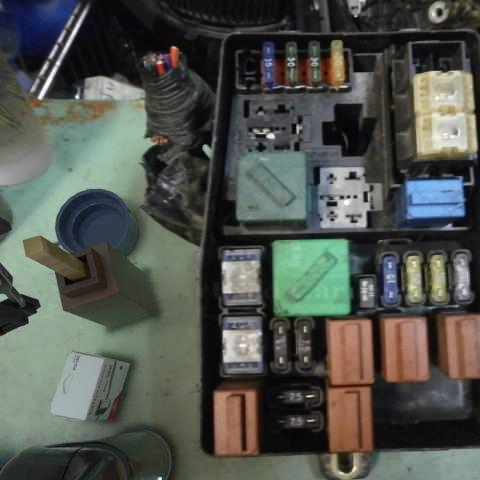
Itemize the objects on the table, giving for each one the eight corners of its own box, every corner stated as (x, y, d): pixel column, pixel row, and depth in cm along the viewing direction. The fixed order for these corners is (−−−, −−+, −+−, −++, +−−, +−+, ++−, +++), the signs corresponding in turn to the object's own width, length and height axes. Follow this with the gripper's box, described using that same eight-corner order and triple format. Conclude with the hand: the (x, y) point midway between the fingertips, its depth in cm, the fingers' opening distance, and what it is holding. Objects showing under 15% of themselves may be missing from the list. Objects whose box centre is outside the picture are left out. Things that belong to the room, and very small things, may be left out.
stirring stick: (93, 279, 68) (43, 250, 54) (79, 284, 67) (25, 256, 54) (90, 266, 68) (40, 234, 55) (76, 271, 68) (22, 240, 55)
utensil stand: (155, 314, 85) (111, 288, 64) (111, 328, 84) (52, 306, 64) (144, 272, 86) (98, 235, 66) (101, 286, 86) (40, 252, 65)
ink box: (114, 420, 80) (84, 424, 69) (82, 413, 80) (47, 416, 69) (131, 362, 82) (105, 356, 71) (100, 355, 83) (69, 349, 71)
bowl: (146, 254, 87) (137, 244, 82) (77, 275, 86) (63, 267, 81) (130, 192, 90) (120, 179, 85) (63, 212, 89) (48, 200, 83)
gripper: (-186, 153, 38) (-45, 222, 53) (-133, 337, 35) (1, 354, 50) (-78, 112, 39) (29, 191, 55) (-17, 286, 36) (78, 318, 51)
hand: (15, 269), depth 52 cm, fingers open, 8 cm apart
